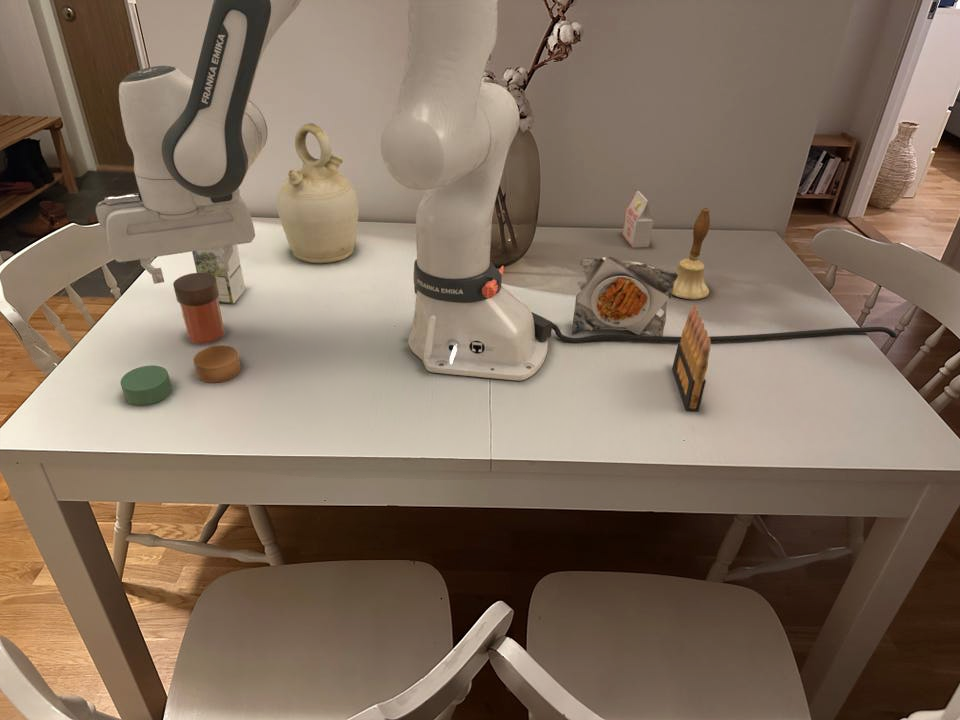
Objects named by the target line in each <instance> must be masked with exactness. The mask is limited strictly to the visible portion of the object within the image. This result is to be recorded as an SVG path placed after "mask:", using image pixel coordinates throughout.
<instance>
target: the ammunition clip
mask: <svg viewBox="0 0 960 720" xmlns="http://www.w3.org/2000/svg"><path fill="white" fill-rule="evenodd" d="M708 336H709V335H708V330H707V329H706V327H705V323H704V322H703V320H702V317H701V316H700V312H699V310H697V305H696V304H693V305H692V306H691V308H690V310H689V312H688V314H687V318H686V322H685V325H684V327H683V329H682V333H681V336H680V337H681V341H680V342H677V347H676V351H675V355H674V359H673V364H672V366H671V367H672V368H671V370H672V373H673V376H674V379H675V382H676V385H677V389H678V391H679V392H678V393H679V395H680V398H681V400H682V403H683V406H684V410H685V411H692V412H699V411H700V407H701V403H702V398H703V395H704V392H705V386H706V379H705V378H706V375H707V370H708V367H709V357H710V352H711V346H712V345H711V344H712V342H711V341H710V337H708Z"/></svg>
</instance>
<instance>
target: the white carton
mask: <svg viewBox="0 0 960 720" xmlns="http://www.w3.org/2000/svg"><path fill="white" fill-rule="evenodd" d="M653 227H654V217H653V214H652V211H651V207H650V201H649V200H648V199H647V198H646V197H645V196H644V195H643V194H642V193H641V192H640V191H639V190H635V192H634V195H633V196H632V198H631V200H630V202H629V203H628V205H627V207H626V208H625V214H624V221H623V226H622V233H621V235H622V236H623V238H624V239H625V241H626V242H627V243H628V244H629V246H630V247H631V248H633V249H634V248H650V243H651V237H652V233H653V232H652V231H653Z"/></svg>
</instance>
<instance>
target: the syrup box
mask: <svg viewBox="0 0 960 720" xmlns="http://www.w3.org/2000/svg"><path fill="white" fill-rule="evenodd" d="M223 252H224V250H223V248H222V247H218V248H211V249H205V250H198V251H191V254H192V257H193V262H194V267H195V271H196V273H208V274H211V275H213V276H214V277H215V278H216V282H217V286H218V291H219V296H218V301H219V304H220V303H221V304H235V303H236V302H237V301H238V299H239V298H240V297H241V296H242V294H244V292H245V290H246V284H245V280H244V275H243V270H242V265H241V260H240V253H239V248H238V245H233V253H232V256H231V258H230V260H229V262H228V266H229V271H228V272H222V273H219V270H218V266H217V265H218V264H217V261H216V259H218V258H221V257H222V255H223Z"/></svg>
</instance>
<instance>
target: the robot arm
mask: <svg viewBox="0 0 960 720" xmlns="http://www.w3.org/2000/svg"><path fill="white" fill-rule="evenodd" d="M301 1H302V0H211V7H210V13H209V17H208V21H207V25H206V29H205V34H204V37H203V41H202V45H201V48H200V53H199V57H198V60H197V61H198V62H197V65H196V69H195V73H194V77H193V79H192V78H190V77H189V76H188V75H186V74H185V73H184V72H182V71H181V70H180V69H179V68H177V67H175V66H170V65H156V66H155V65H154V66H150V67H144V68H142V69H138V70H135V71H134V72H131V73H130V74H128V75H126V76H125V77H124V78H123V79H122V80H121V82H120V83H119V85H118V101H119V109H120V115H121V121H122V127H123V130H124V135H125V138H126V142H127V144H128V146H129V148H130V150H131V152H132V154H133V172H134V177H135V181H136V185H137V188H138V189H137V190H138V191H139V192H137V193H136V192H135V193H126V194H122V195H117V196H116V195H110V196H106V197H104V198H103V200H101V201H99V202H98V203H97V204H96V206H95V215H96V218H97V222H98V224H99V225H100V226H101V227H102V228H104V229H105V233H106V240H107V246H108V251H109V255H110V258H111V259H113V260H114V261H116V262H117V263H126V262H131V261H133V262H134V261H138V260H139V263H140V266H141V267H142V268H143V269H144V270H145V271H147V273H148V274H150V275H151V278H152V281H153V284H154V285H157V284H161V283H165V279H164V274H163V270H162V267H154V266H153V264H152V261H151V259H152V258H157V257H164V256H170V255H178V254H185V253H192V251H198V250H205V249H211V248H218V247H222V248H223V250H224V252H223V255H222V257H221V258H218V259H216V261H217V264H218V265H217V266H218V270H219V273H222V272H228V271H229V266H228V262H229V260H230V258H231V256H232V253H233V245H237V246H238V245H243V244H250V243H252V242H253V240H254V239H255V238H256V229H255V226H254V222H253V219H252V215H251V212H250V211H249V207H248V206H247V205H246V201H244V198H242V196H241V190H240V187H241V185H242V184H243V181H244V180H245V177H246V175H247V174H248V171H249V170H250V168H251V167H252V165H253V164H254V163H255V161H256V160H257V158H258V157H259V155H260V154H261V152H262V151H263V149H264V148H265V146H266V143H267V140H268V126H267V123H266V120H265V117H264V115H263V113H262V112H261V110H260V109H259V108H258V107H257V105H255V104H254V103H253V102H252V101H251V100H250V98H251V97H250V96H251V92H252V90H253V85H254V83H255V80H256V79H255V78H256V75H257V71H258V67H259V65H260V62H261V59H262V57H263V54H264V52H265V50H266V48H267V46H268V45H269V43H270V41H271V40H272V39H273V37H274V35H275V34H276V33H277V31H278V30H279V29H280V28H281V27H282V25H283V24H284V23H285V22H286V21H287V19H288V18H289V17H290V16H291V15H292V14H293V12H294V11H295V10H296V9H297V8H298V7H299V5H300V4H301ZM498 3H499V1H498V0H407V21H408V23H407V24H408V26H407V27H408V34H407V36H408V37H407V49H406V57H405V64H404V69H403V74H402V79H401V83H400V88H399V92H398V97H397V101H396V104H395V106H394V110H393V112H392V113H391V116H390V118H389V119H388V121H387V123H386V125H385V126H384V128H383V131H382V133H381V137H380V153H381V157H382V161H383V164H384V165H385V168H386V169H387V171H388V173H389V175H390V176H392V178H393V179H394V180H395V182H397V183H398V184H400V185H401V186H403V187H405V188H407V189H410V190H413V191H424V195H423V197H422V199H421V201H420V203H419V205H418V207H417V211H416V214H415V238H416V239H415V242H416V243H415V245H416V259H415V260H414V263H413V285H414V286H413V287H414V290H413V291H414V294H415V306H414V307H415V308H414V314H413V321H412V325H411V329H410V333H409V336H408V340H407V344H408V347H409V349H410V351H411V352H412V353H413V354H414V355H415V356H416V357H418V359H420V360H421V361H422V363H423V366H424V368H425V370H426V371H427V372H429V373H432V374H433V373H434V374H442V375H443V374H445V375H455V376H466V377H476V378H486V379H495V380H496V379H497V380H509V381H520V382H521V381H524V380H526V379H529V378H531V377H532V376H534V375H535V374H536V373H537V372H538V371H539V370H540V369H541V367H542V365H543V364H544V361H545V360H546V358H547V354H548V349H549V348H548V345H549V344H548V339H549V338H551V337H552V334H553V331H554V334H555V335H556V337H557V338H558V339H559V340H560V341H562V342H565V343H567V344H584V343H589V342H594V341H595V342H596V341H602V340H603V341H605V340H609V341H610V340H611V341H613V340H614V341H630V342H631V341H634V342H656V343H657V342H661V343H678V342H680V341H681V337H682V336H669V335H668V336H667V335H665V336H664V335H663V336H652V335H637V334H635V335H634V334H618V333H617V334H614V333H601V334H593V335H587V336H582V337H572V336H571V337H570V336H567V335H564V334H563V333H562V332H561V329H560V327H559V326H558V325H557V324H555V323H554V322H552V321H551V320H549V319H547V318H545V317H543V316H541V315H539V314H537V313H535V312H533V311H532V310H531V309H530V307H528V306H527V305H526V304H525V303H523V302H522V301H521V300H520V299H518V298H517V297H516V296H514V295H513V294H512V293H511V292H509V290H507V289H506V288H505V287H504V286H503V285H502V282H503V281H502V278H503V275H504V268H505V266H504V265H501V267H500V268H499V270H498V268H497V267H496V266H495V265H494V264H493V262H492V260H491V245H492V244H491V243H492V228H493V227H492V225H493V216H494V210H495V207H496V201H497V196H498V192H499V188H500V184H501V181H502V178H503V177H502V176H503V174H504V169H505V164H506V160H507V156H508V153H509V150H510V148H511V145H512V143H513V141H514V139H515V137H516V135H517V134H518V131H519V128H520V127H519V126H520V110H519V107H518V104H517V102H516V100H515V98H514V97H513V95H512V94H511V92H509V90H508V89H506V88H505V87H504V86H502V85H500V84H497V83H494V82H486V81H483V78H484V75H485V71H486V68H487V65H488V61H489V58H490V56H491V54H492V52H493V50H494V49H495V46H496V43H497V39H498V12H499V11H498V10H499V9H498V6H499V4H498ZM855 333H856V334H861V333H863V334H865V333H866V334H867V333H884V334H887V335H888V336H889V337H890V338H892V339H898V335H897V333H896V331H894V330H893V329H891V328H888V327H885V326H866V327H865V326H864V327H857V326H856V327H855V326H854V327H836V328H825V329H823V328H822V329H811V330H809V329H808V330H798V331H796V330H795V331H786V332H771V333H769V332H768V333H758V334H757V333H756V334H755V333H754V334H740V335H714V336H713V335H712V336H709V335H708V337H710V341H711V343H717V342H718V343H719V342H720V343H721V342H742V341H757V340H758V341H759V340H772V339H773V340H774V339H785V338H798V337H811V336H822V335H823V336H825V335H834V334H836V335H837V334H855Z"/></svg>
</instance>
